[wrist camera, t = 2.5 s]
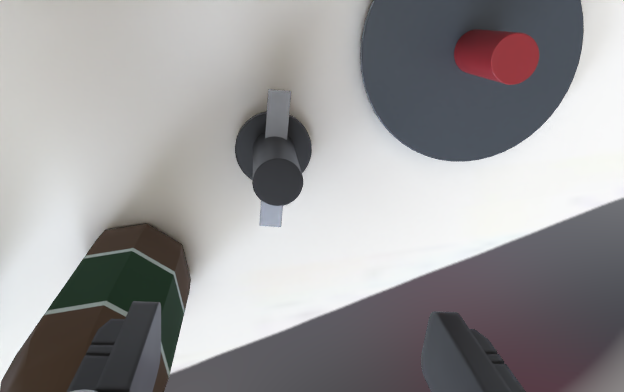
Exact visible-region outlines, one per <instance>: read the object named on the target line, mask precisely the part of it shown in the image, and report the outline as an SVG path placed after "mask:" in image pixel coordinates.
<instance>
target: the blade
mask: <svg viewBox="0 0 624 392" xmlns="http://www.w3.org/2000/svg"><path fill="white" fill-rule="evenodd" d="M290 99H291V91H283V90H272V89H269V91H268V104H267V112H263V113H260V114H257V115H255V116H253V117H252V118H250V119H249V120H248V121H247V122H246V123H245V124H244V125H243V126H242V128H241V129H240V131H239V133H238V136H237V139H236V146H235V153H236V158H237V162H238V164H239V166H240V168H241V169H242V171H243V172H244V173H245V174H246V175H247V176H248V177H249V178H250V179H252V180H253V188H254V191H255V193H256V195H257V196H258V198H259V199H260V200H261V211H260V226H273V227H281V221H282V210H283V205H286V204H289V203H291V202H292V201H294V200H295V199H296V198H297V197H298V196H299V194H300V192H301V190H302V187H303V177H302V173H303V172H304V170H305V169H306V167H307V165H308V163H309V160H310V157H311V141H310V138H309V135H308V133H307V131H306V129H305V127H304V126H303V125H302V124H301V123H300V122H299V121H298V120H297V119H296V118H295V117H293V116H291V115H289V110H290Z"/></svg>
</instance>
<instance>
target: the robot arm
mask: <svg viewBox="0 0 624 392" xmlns="http://www.w3.org/2000/svg"><path fill="white" fill-rule="evenodd" d="M160 355H161V304H160V302H141V301H133V302H132V304H131V306H130V309H129V311H128V313H127V316H126V318H125V319H110V320H109V321H108V322H107V323H105V324H104V325H103V326H102V327H100V328H99V329H98V330H97V332H96V334H95V336H94V338H93V340H92V342H91V345H90V346H89V348H88V350H87V352H86V356H84V358H83V360H82V362H81V364H80V366H79V368H78V370H77V372H76V374H75V376H74V378H73V380H72V382H71V384H70V386H69V388H68V390H67V392H152V391H153V388H154V384H155V380H156V377H157V373H158V369H159V364H160ZM421 367H422V372H423V375H424V378H425V380H426V382H427V384H428V386H429V388H430V390H431V392H526V391H525V390H524V389H523V387H522V386H521V384H520V383H519V382H518V380H517V379H516V377H515V376H514V375H513V373H512V372H511V370H510V369H509V368H508V366H507V365H506V364H504V361H503V359H502V358H501V357H500V355H499V354H497V351H496V349H495V348H494V347H493V345H492V344H491V342H490V341H489V340H488V339H487V338H485V337H484V336H483V335H482V334H480V333H479V332H478V331H476V330H475V329H469V328H468V326H467V325H466V323H465V322H464V320H463V319H462V317H461V316H460V315H459V313H457V312H432V313H431V315H430V317H429V321H428V326H427V330H426V336H425V340H424V345H423V349H422V355H421Z"/></svg>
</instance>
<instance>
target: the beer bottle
mask: <svg viewBox="0 0 624 392" xmlns="http://www.w3.org/2000/svg"><path fill="white" fill-rule="evenodd" d="M190 281H191V279H190V275H189V271H188V267H187V263H186V258H185V254H184V250H183V246H182V244H180V243H179V242H177V241H175V240H174V239H172V238H170V237H169V236H167V235H165V234H164V233H162V232H160V231H159V230H157V229H155V228H154V227H152V226H150V225H149V224H141V225H135V226H128V227H122V228H116V229H109V230H105V231H104V232H103V233H102V234H101V235H100V237H99V238H98V239H97V240H96V241H95V243H94V244H93V246H92V247H91V249H90V250H89V251H88V253H87V254H86V256H85V257H84V259H83V260H82V261H81V263H80V264H79V266H78V267H77V269H76V270H75V271H74V273H73V274H72V276H71V277H70V279H69V280H68V281H67V283H66V284H65V286H64V287H63V289H62V290H61V291H60V293H59V294H58V296H57V297H56V299H55V300H54V301H53V303H52V304H51V306H50V307H49V309H48V310H47V311H46V313H45V314H44V316H43V317H42V319H41V320H40V321H39V323H38V324H37V326H36V327H35V329H34V330H33V332H32V333H31V334H30V336H29V337H28V339H27V340H26V342H25V343H24V345H23V346H22V347H21V349H20V350H19V352H18V353H17V355H16V356H15V358H14V360H13V361H12V363H11V365H10V367H9V369H8V370H7V372H6V374H5V376H4V377H3V379H2V381H1V388H0V392H67V390H68V388H69V386H70V384H71V382H72V380H73V378H74V376H75V374H76V372H77V370H78V368H79V366H80V364H81V362H82V360H83V358H84V356H86V352H87V350H88V348H89V346H90V345H91V342H92V340H93V338H94V336H95V334H96V332H97V330H98V329H99V328H100V327H102V326H103V325H104V324H105V323H107V322H108V321H109V320H110V319H125V318H126V316H127V313H128V311H129V309H130V306H131V304H132V302H133V301H141V302H160V304H161V355H160V364H159V369H158V373H157V377H156V380H155V384H154V388H153V391H152V392H164V390H165V387H166V384H167V381H168V379H169V375H170V371H171V366H172V362H173V358H174V354H175V350H176V345H177V341H178V337H179V333H180V329H181V324H182V320H183V316H184V312H185V308H186V303H187V299H188V295H189V289H190Z"/></svg>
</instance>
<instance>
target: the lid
mask: <svg viewBox="0 0 624 392" xmlns="http://www.w3.org/2000/svg"><path fill="white" fill-rule="evenodd" d="M582 42H583V13H582V6H581V1H580V0H373V2H372V4H371V6H370V9H369V12H368V15H367V18H366V21H365V25H364V30H363V35H362V41H361V55H360V56H361V72H362V77H363V83H364V87H365V90H366V93H367V96H368V99H369V101H370V104H371V106H372V108H373V110H374V112H375V113H376V115H377V116H378V118H379V119H380V121H381V122H382V124H383V125H384V126H385V127H386V128H387V130H388V131H389V132H390V133H391V134H392V135H393V136H394V137H396V138H397V139H398V140H399V141H400V142H401V143H403V144H404V145H406V146H407V147H409V148H411V149H412V150H414V151H416V152H418V153H421V154H423V155H425V156H428V157H432V158H435V159H439V160H446V161H472V160H479V159H483V158H487V157H491V156H494V155H496V154H499V153H502V152H504V151H506V150H508V149H510V148H512V147H514V146H516V145H518V144H519V143H520V142H522V141H523V140H525V139H526V138H528V137H529V136H530V135H532V134H533V133H534V132H535V131H536V130H537V129H539V128H540V127H541V126H542V125H543V124H544V123H545V122H546V120H547V119H548V118H549V117H550V116H551V115H552V114H553V112H554V111H555V110H556V108H557V107H558V106H559V104H560V103H561V101H562V99H563V98H564V96H565V94H566V93H567V91H568V89H569V87H570V84H571V82H572V80H573V78H574V75H575V72H576V69H577V66H578V63H579V59H580V54H581V50H582Z"/></svg>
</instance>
